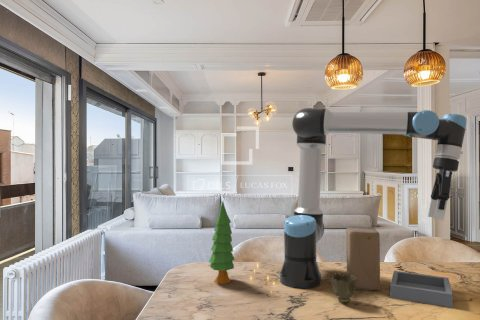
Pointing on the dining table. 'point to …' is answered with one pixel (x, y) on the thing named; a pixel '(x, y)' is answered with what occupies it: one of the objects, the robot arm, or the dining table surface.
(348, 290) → the cup
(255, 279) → the dining table surface
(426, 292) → the gray square tray
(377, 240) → the wooden block
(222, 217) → the decorative tree
